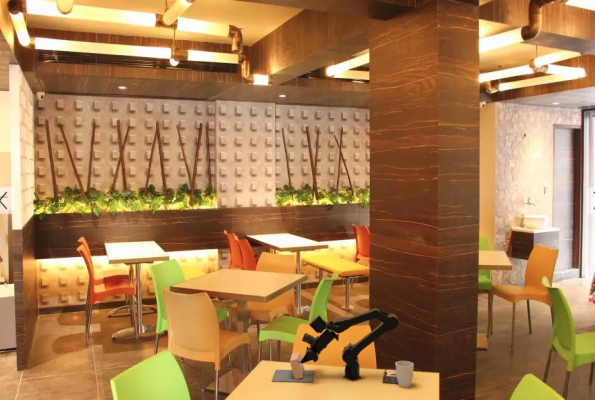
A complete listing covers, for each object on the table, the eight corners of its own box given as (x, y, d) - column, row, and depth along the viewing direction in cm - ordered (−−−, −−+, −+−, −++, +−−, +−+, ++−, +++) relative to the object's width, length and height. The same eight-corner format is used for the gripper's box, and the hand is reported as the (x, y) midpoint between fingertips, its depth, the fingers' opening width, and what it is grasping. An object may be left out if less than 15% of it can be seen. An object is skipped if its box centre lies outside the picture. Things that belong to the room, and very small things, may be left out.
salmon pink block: (304, 369, 266) (299, 351, 266) (302, 377, 254) (297, 359, 254) (297, 371, 266) (292, 353, 266) (294, 379, 254) (289, 361, 254)
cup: (402, 381, 252) (402, 359, 252) (417, 385, 246) (417, 363, 246) (391, 385, 247) (391, 363, 247) (407, 390, 241) (406, 367, 241)
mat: (314, 371, 267) (314, 370, 267) (312, 382, 251) (312, 381, 251) (275, 370, 269) (275, 369, 269) (271, 381, 253) (271, 380, 253)
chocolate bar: (382, 382, 250) (385, 369, 267) (382, 384, 250) (385, 371, 267) (402, 383, 248) (403, 370, 265) (402, 385, 248) (403, 372, 265)
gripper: (313, 323, 268) (290, 345, 269) (310, 332, 250) (286, 356, 251) (329, 339, 268) (306, 361, 269) (328, 350, 249) (304, 373, 250)
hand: (300, 362), depth 260 cm, fingers closed, pressing on salmon pink block
